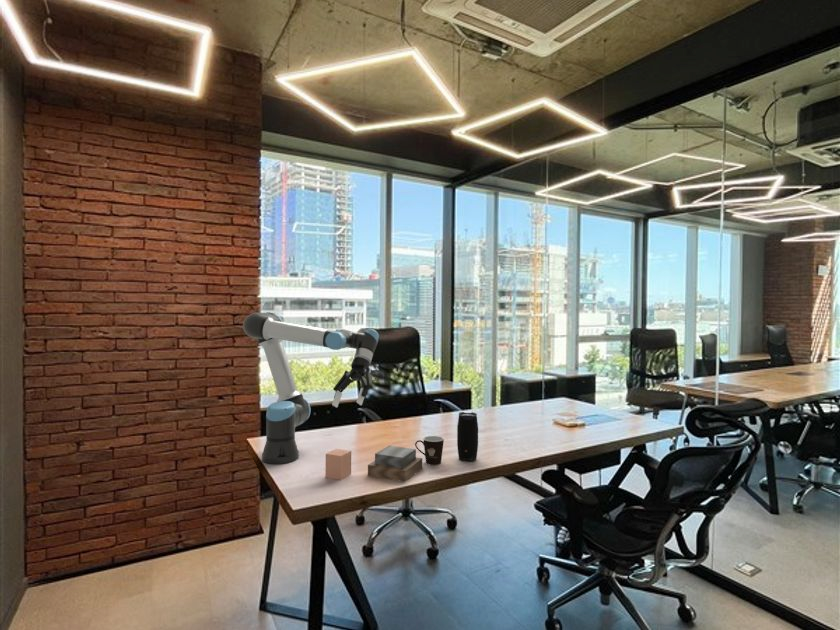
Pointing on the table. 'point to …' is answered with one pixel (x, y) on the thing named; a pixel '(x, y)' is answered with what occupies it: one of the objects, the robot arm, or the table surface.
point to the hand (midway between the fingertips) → (346, 404)
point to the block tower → (395, 463)
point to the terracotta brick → (338, 464)
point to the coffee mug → (432, 449)
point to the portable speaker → (467, 436)
